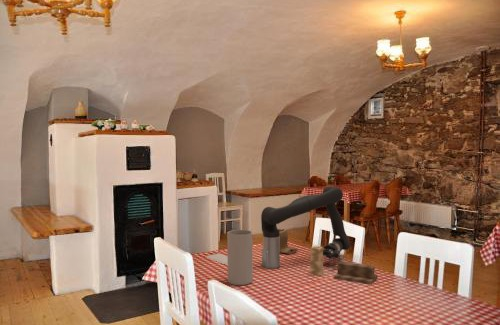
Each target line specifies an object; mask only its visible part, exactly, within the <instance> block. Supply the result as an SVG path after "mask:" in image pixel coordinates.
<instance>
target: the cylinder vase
mask: <svg viewBox="0 0 500 325" xmlns="http://www.w3.org/2000/svg"><path fill="white" fill-rule="evenodd" d="M226 238H227V240H226V241H227V247H226V248H227V256H228V266H227V282H228V283H229V284H231V285H234V286H245V285H249V284H252V283H253V278H254V276H253V272H254V271H253V270H254V268H253V263H254V262H253V260H254V259H253V257H254V256H253V231H252V230H247V229H234V230H230V231H227V236H226Z"/></svg>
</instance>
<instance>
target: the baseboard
mask: <svg viewBox="0 0 500 325" xmlns="http://www.w3.org/2000/svg"><path fill="white" fill-rule="evenodd" d="M205 257H207V258H210V259H212V260H214V261H213V262H215V261H217V262H216V263H218V262H219V264H221V263H222V265H224V264H225V265H224V266H227V265H228V255H224V254H221V253H220V251H218V252H217V253H214V254H212V252H210V253H209V254H208V255H204V256H203V258H204V259H205ZM207 258H206V259H207ZM212 260H211V261H212Z"/></svg>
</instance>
